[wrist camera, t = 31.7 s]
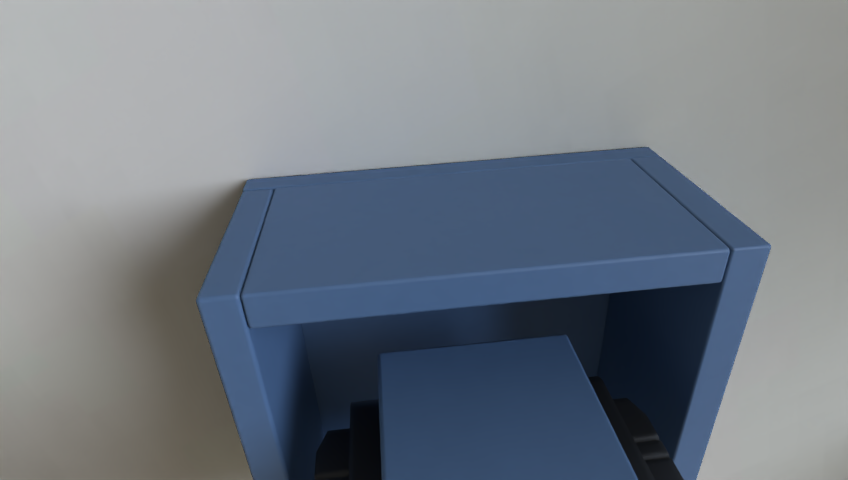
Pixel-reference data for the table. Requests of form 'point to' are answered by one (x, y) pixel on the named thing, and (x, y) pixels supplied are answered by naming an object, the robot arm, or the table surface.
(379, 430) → the robot arm
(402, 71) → the table surface
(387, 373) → the slate-blue block
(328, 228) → the slate bin
